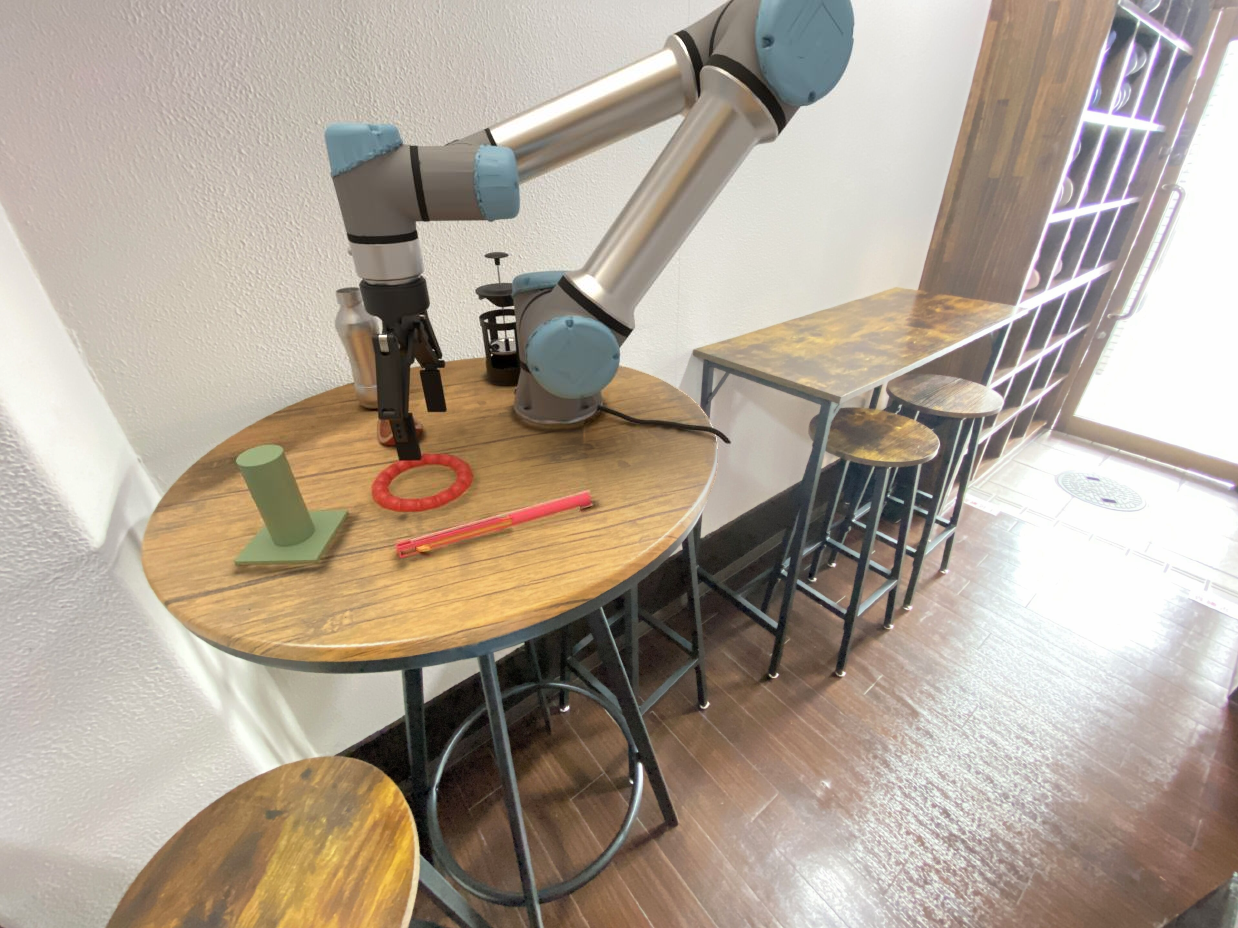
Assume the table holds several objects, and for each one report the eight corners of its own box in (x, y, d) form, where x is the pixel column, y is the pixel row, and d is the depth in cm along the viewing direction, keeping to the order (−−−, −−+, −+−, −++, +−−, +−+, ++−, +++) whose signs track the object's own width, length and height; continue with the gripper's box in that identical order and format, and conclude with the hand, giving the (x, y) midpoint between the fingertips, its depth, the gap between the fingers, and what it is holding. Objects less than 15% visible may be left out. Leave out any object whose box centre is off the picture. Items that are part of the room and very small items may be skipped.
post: (351, 519, 68) (321, 433, 61) (320, 569, 60) (281, 477, 53) (278, 520, 67) (240, 434, 60) (238, 571, 60) (189, 479, 53)
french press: (501, 391, 99) (484, 262, 86) (474, 376, 105) (454, 253, 92) (551, 374, 106) (542, 251, 93) (523, 361, 111) (511, 244, 99)
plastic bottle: (407, 401, 95) (379, 288, 85) (374, 416, 91) (340, 298, 80) (384, 393, 98) (354, 282, 88) (351, 407, 94) (315, 292, 83)
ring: (481, 461, 79) (479, 450, 78) (462, 516, 68) (459, 504, 67) (392, 463, 78) (389, 451, 77) (359, 518, 68) (354, 506, 66)
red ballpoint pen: (398, 552, 63) (400, 567, 59) (394, 536, 63) (395, 549, 59) (584, 499, 72) (597, 509, 68) (582, 484, 72) (595, 493, 67)
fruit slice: (374, 435, 85) (366, 407, 83) (416, 424, 88) (410, 397, 86) (386, 459, 79) (378, 429, 77) (431, 446, 82) (425, 417, 80)
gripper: (393, 254, 74) (422, 394, 85) (312, 308, 53) (365, 484, 64) (448, 255, 74) (470, 394, 85) (389, 308, 53) (428, 483, 64)
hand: (425, 433), depth 75 cm, fingers open, 13 cm apart
